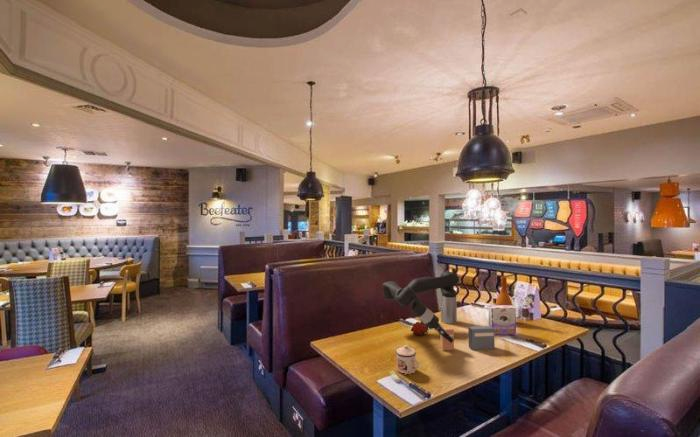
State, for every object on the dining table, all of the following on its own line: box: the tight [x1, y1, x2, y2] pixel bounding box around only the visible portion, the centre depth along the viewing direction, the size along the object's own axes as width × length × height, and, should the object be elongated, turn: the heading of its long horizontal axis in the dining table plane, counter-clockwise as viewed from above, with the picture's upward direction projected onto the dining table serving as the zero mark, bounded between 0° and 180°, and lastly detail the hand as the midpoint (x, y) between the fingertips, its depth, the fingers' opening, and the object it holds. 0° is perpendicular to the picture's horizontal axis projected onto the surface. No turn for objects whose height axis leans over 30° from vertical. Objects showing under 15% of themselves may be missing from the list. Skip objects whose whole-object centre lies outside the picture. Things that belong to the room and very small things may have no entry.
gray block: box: [467, 325, 496, 351], centre depth 173 cm, size 12×4×11 cm, turn 91°
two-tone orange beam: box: [439, 326, 455, 351], centre depth 173 cm, size 6×4×11 cm
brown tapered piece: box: [495, 276, 513, 306], centre depth 211 cm, size 10×10×30 cm
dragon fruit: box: [410, 320, 430, 337], centre depth 194 cm, size 8×8×12 cm
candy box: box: [488, 304, 517, 336], centre depth 192 cm, size 14×6×16 cm, turn 84°
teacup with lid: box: [395, 344, 420, 375], centre depth 150 cm, size 12×9×12 cm
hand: (450, 339), depth 173 cm, fingers closed on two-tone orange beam, 4 cm apart
